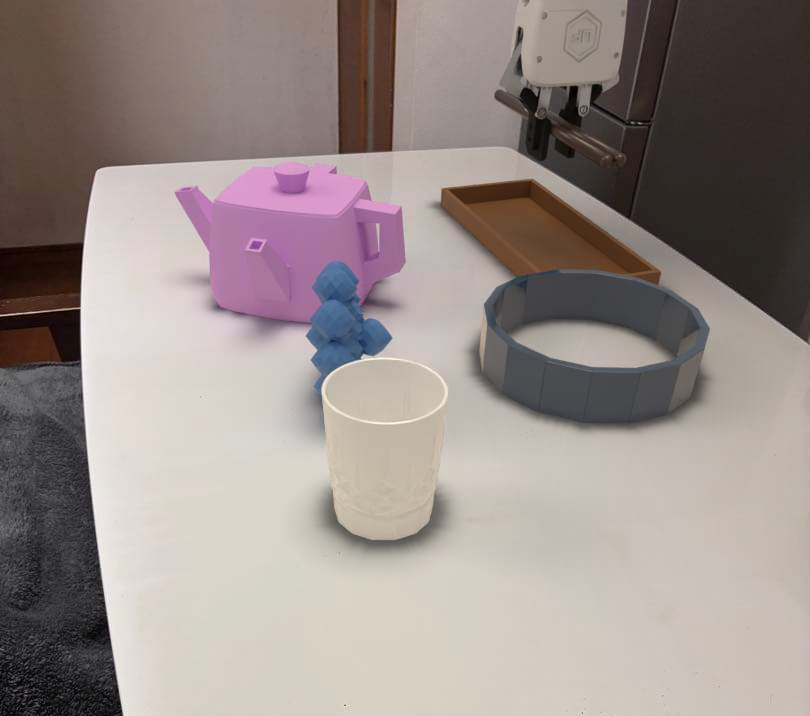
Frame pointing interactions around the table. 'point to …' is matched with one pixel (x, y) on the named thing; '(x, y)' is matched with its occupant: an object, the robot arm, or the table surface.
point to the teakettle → (292, 237)
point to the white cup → (384, 444)
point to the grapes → (341, 323)
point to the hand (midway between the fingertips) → (550, 154)
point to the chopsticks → (569, 134)
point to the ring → (579, 384)
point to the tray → (539, 230)
